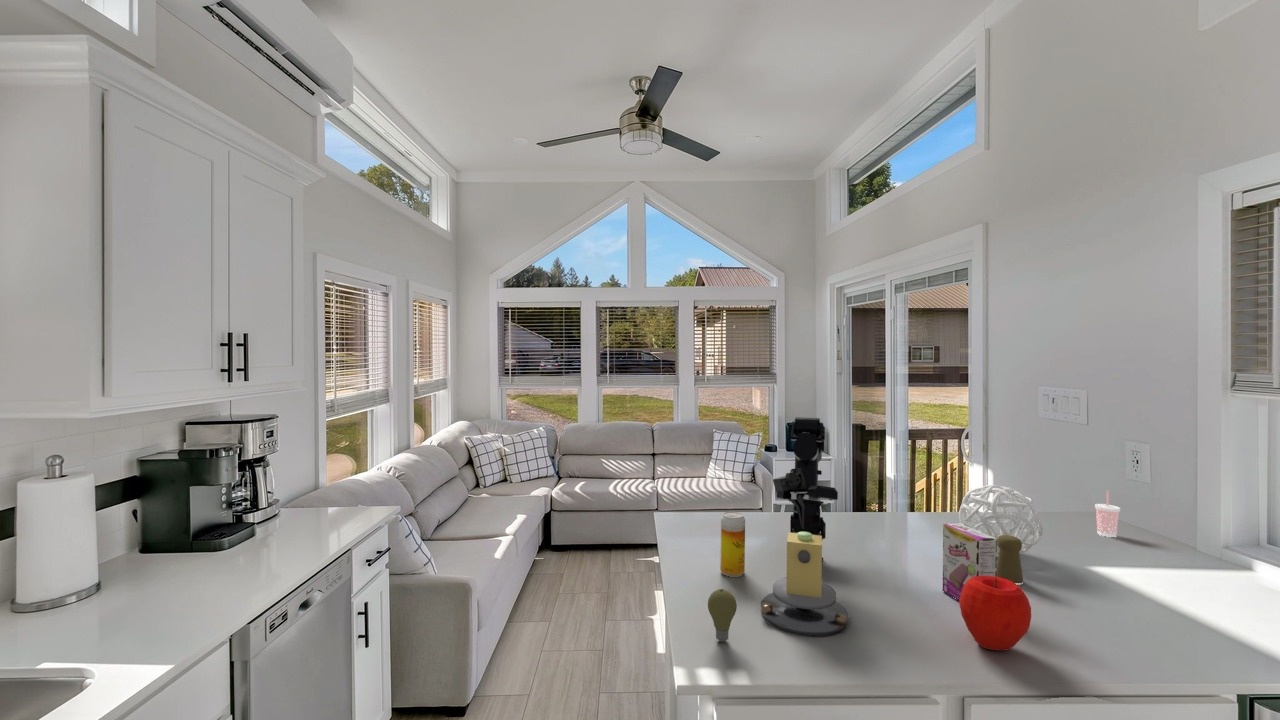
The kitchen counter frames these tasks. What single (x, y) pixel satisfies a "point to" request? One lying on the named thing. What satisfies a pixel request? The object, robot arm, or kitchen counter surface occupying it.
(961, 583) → the candy bar box
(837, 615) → the base
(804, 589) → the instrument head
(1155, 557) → the kitchen counter surface
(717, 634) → the light bulb
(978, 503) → the decorative ball
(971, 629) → the apple
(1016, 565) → the brown rounded upright piece
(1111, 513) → the beverage cup
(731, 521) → the beer can
